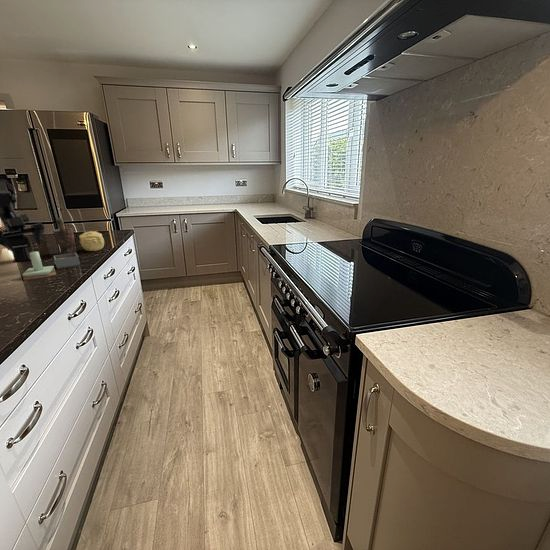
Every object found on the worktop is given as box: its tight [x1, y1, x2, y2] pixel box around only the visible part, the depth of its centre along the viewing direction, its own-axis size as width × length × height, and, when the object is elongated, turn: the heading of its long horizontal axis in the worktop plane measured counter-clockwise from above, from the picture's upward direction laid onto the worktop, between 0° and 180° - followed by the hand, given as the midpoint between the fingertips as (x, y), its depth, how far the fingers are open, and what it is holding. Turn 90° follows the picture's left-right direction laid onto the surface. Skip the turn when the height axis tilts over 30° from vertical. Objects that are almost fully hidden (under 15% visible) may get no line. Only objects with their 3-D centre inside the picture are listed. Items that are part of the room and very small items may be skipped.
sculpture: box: [78, 230, 105, 252], centre depth 169 cm, size 11×12×11 cm
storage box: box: [53, 252, 81, 270], centre depth 141 cm, size 9×9×4 cm
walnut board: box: [22, 267, 57, 282], centre depth 129 cm, size 11×11×1 cm
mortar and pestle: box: [52, 217, 78, 255], centre depth 158 cm, size 12×9×20 cm
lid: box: [22, 250, 55, 277], centre depth 127 cm, size 9×9×9 cm
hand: (27, 249), depth 130 cm, fingers open, 9 cm apart
